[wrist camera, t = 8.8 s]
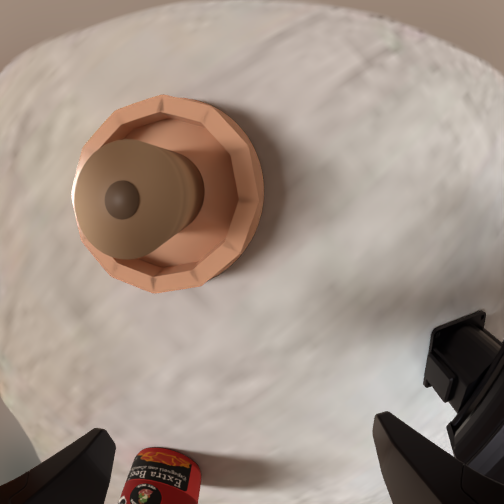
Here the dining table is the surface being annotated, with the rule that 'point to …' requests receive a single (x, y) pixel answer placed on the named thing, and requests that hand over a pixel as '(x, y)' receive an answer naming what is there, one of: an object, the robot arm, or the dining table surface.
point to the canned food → (162, 479)
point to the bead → (136, 197)
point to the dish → (215, 183)
